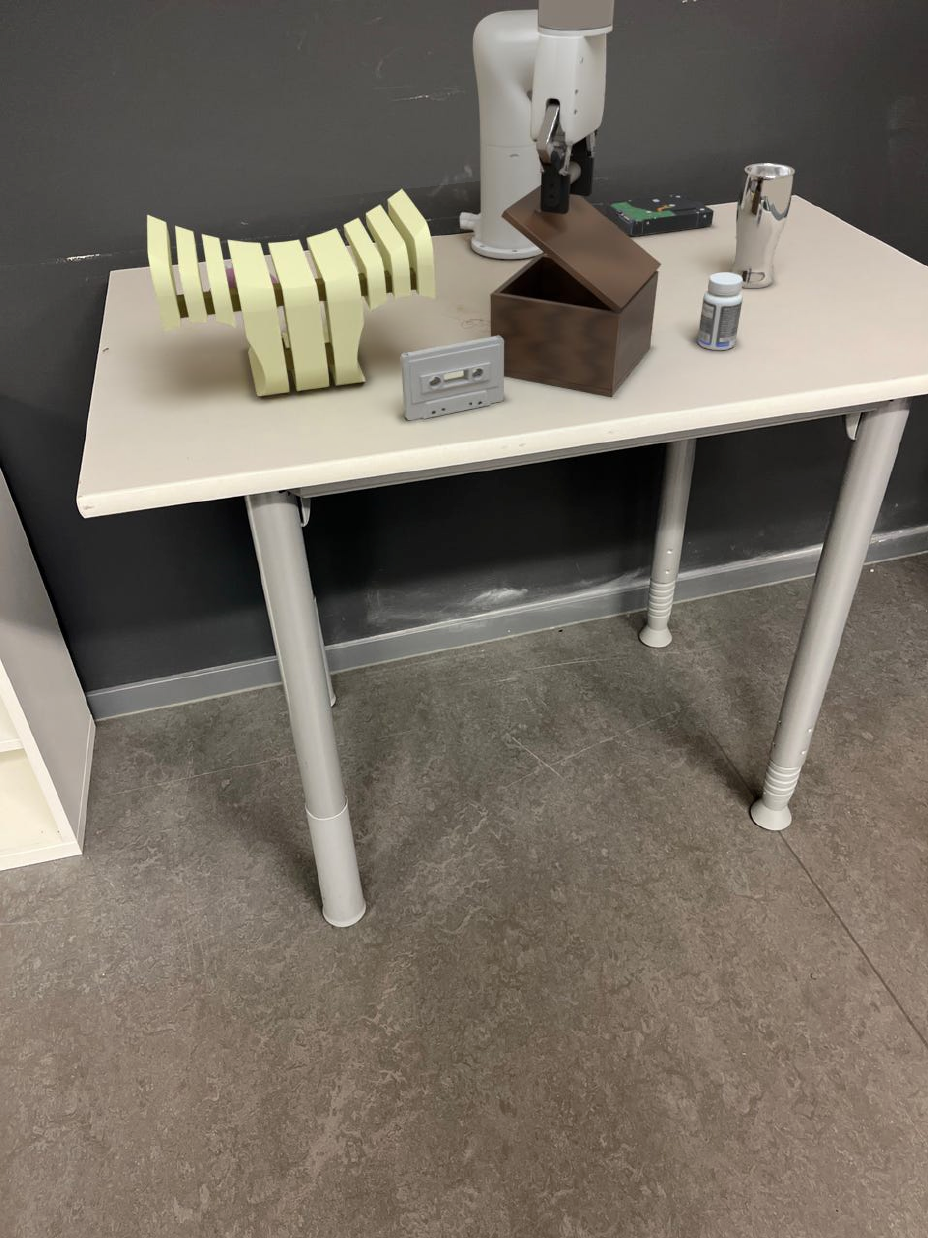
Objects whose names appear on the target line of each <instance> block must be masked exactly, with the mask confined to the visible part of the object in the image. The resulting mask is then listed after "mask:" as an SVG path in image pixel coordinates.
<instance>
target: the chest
mask: <svg viewBox="0 0 928 1238" xmlns="http://www.w3.org/2000/svg"><path fill="white" fill-rule="evenodd" d="M659 272H660V271H659V270H656V272H655V273H654V274H653V275H652V276H651V277H650V278H649V279H648V280H647V281H646V283H645V284H644V285H643V286H642V287H641V288H640V289H639V290H638V291H637V292H636V294H635V295H634V296H633V297H632V298H631V299H630V300H629V301H628V302H627V303H626V305H625V306H624V307H623V308H622V309H621V310H620V311H619V312H618V313H616V312H615V311H613V310H612V309H611V308H610V307H609V306H607V305H606V304H605V303H604V302H603V301H602V300H600V299H599V298H598V297H597V296H596V295H594V294H593V293H592V292H591V291H590V290H588V289H587V288H586V287H585V286H584V285H582V284H581V283H580V282H579V281H578V280H576V279H575V278H574V277H573V276H572V275H570V274H569V273H568V272H567V271H566V270H564V269H563V268H562V267H561V266H560V265H559V264H557V263H556V262H555V261H554V260H553V259H551V258H550V257H549V256H548V255H547V254H545V253H542V254H538V255H537V256H534V257H532V259H530V261H529V262H527V263H526V264H524V266H522V267H521V268H520V269H519V270H518V271H516V272H515V273H513V275H512V276H510V277H509V278H508V279H506V281H504V282H503V283H502V284H500V286H498V287H497V288H496V289H494V291H492V292H491V293H490V297H489V300H490V302H489V303H490V305H489V306H490V307H489V310H490V314H489V315H490V319H489V320H490V337H493V336H498V335H499V336H500V337H502V338H503V340H504V377H508V378H509V377H510V378H514V379H519V380H523V381H530V382H535V383H539V384H544V385H548V386H549V385H550V386H555V387H559V388H564V389H570V390H575V391H579V392H585V393H590V394H594V395H600V396H605V397H610V398H612V397H613V396H614V394H616V392H618V390H619V389H620V387H621V386H622V385H623V383H624V382H625V381H626V380H627V378H628V377H629V376H630V374H631V373H632V372H633V371H634V370H635V368H636V367H637V365H638V364H639V363H640V362H641V361H642V360H643V358H644V356H646V354H647V353H648V351H649V350H650V349H651V343H652V335H653V325H654V315H655V309H656V307H655V306H656V299H657V291H658V282H659Z"/></svg>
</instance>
